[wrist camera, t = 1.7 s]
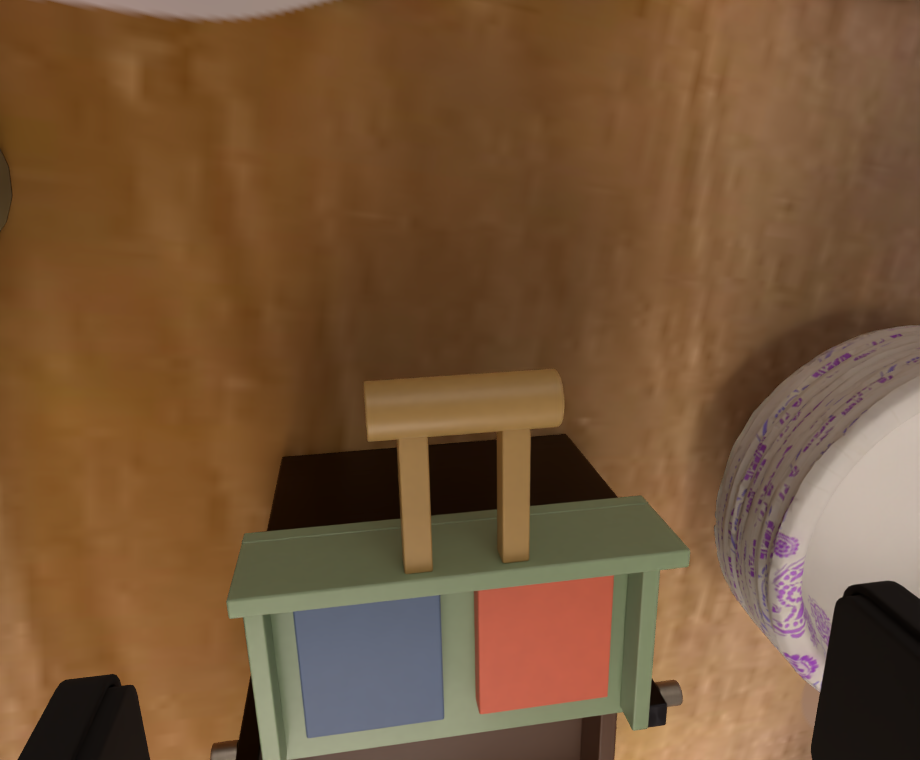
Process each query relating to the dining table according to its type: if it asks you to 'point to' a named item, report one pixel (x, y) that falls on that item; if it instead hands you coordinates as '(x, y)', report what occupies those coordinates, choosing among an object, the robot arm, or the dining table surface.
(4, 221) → the pepper mill
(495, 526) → the green handled tray
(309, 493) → the stand
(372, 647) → the blue sachet
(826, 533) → the paper bowls
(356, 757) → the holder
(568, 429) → the dining table surface
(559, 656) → the coral sachet
